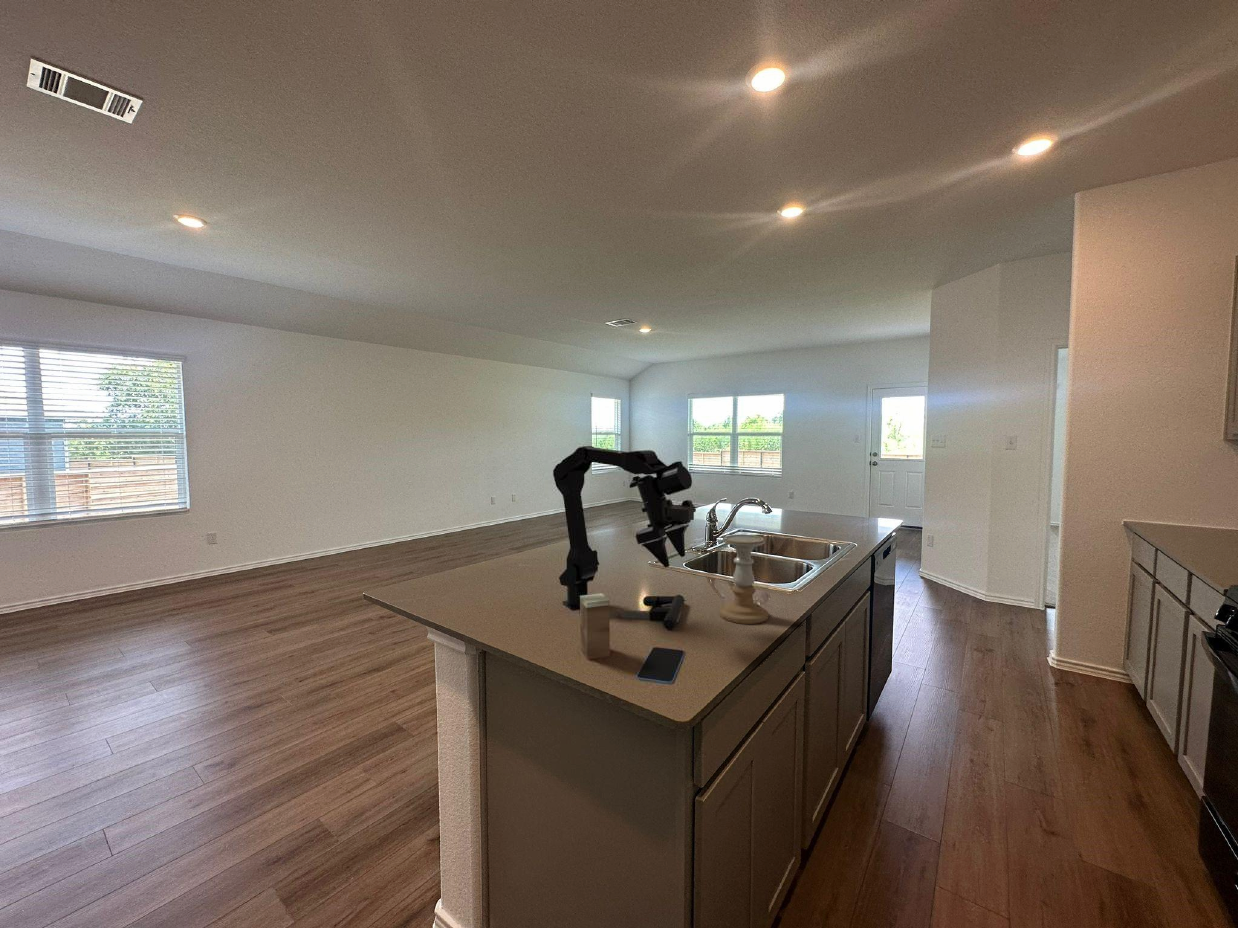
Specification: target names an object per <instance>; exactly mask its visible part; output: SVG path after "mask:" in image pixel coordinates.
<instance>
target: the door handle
mask: <svg viewBox="0 0 1238 928" xmlns="http://www.w3.org/2000/svg"><path fill="white" fill-rule="evenodd" d="M686 601H688V600H685V597H684V596H682V595H681V594H676V595H674V596H673V595H666V596H665V595H646V596H644V597H643V599H642V603H643V604H644V605H645V606H651V607H650V610H620V612H619V617H620V618H622V619H624V618H625V619H634V620H635V619H636V620H649V621H650V622H661V623H662V624H663V627H664V629H666V630H669V631H670V630H671V631H672V630H673V629H674V628H675V627H676V624H677V623H679V619H680V617H681V615H682V611H683V610H682V609H683V606H684V605H685V602H686Z"/></svg>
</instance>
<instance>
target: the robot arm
mask: <svg viewBox="0 0 1238 928" xmlns="http://www.w3.org/2000/svg"><path fill="white" fill-rule="evenodd" d="M592 463H595V464H596V463H597V464H602V465H609V466H614V467H619V468H621V469H622V470H623V471H625V472H627V473H629V474H633V475H636V476H633V477H632V480H631V482H630V484H629V486H628V487H629V488H630V489H633V488H635V487H637V489H638V492H639V495H640V498H641V500H642V503H643V508H641V511H642V512H641V513H643V514H644V513H646V515H647V519H648V521H649V524H646V526H647V527H646V528H645V527H644V528H643V529H641V530H638V531H637V532H636V535H635V536H634V537H635V540H636V542H637V545H640V544H641V547H644V548H645V549H647V551H648V552H649V553H651V554H652V555H653V556H654V557H655V559H656V560H658V562H659V563H660V564H662V566H663V567H664V568H669V567H670V560H669V557H668V552H667V548H666V542H667V540H669V541H670V543H671V544H672V546H673V547H674V549H675V551H676V552H677V554H678V556H680V557H681V558H683V557H685V556H686V546H685V545H686V544H685V532H686V531H687V529H688V527H689V526H690V524H689V523H691V521H694V519H695V512H697V508H695V507H696V506H695V505H694V503H693V501H692V500H690V499H689V500H688V499H685V500H683V501H682V503H681V504H673V502H672V501H673V500H671V498H669V499H667V496H671V495H673V494H676V493H680V492H684V491H686V490H689V489H691V488H692V484H693V479H692V475H691V473H690V472H689V470H688V468H687V467H686V466H684V464H683V462H682V461H681V460H679V461H674V462H673V463H671V464H669V465H667V464H666V463H664V462H663V461H662V460H661V459H660V458H658V455H657V454H656V452H655V451H654V450H652V449H651V450H650V449H649V450H648V449H644V450H630V451H627V450H626V451H623V450H616V449H609V448H601V447H596V446H595V447H594V446H593V445H583V446H582V445H581V446H579V447H578V448H576V449H575V450H574V452H572V453H570V454H569V455H568V456H566V457H564V459H562V461H560V462H559V463H557V464H556V465H555V466H554V468H553V470H552V475H553V476H552V477H553V480H554V483H555V486H556V488H557V490H558V491H559V492H560V494H561V495H562V499H563V505H564V512H565V513H564V514H565V519H566V526H567V527H566V528H567V532H568V535H567V536H568V540H569V541H568V542H569V550H568V553H567V557H566V568H565V570H564V571H563V572H562V573H561V574H560V575H559V577H558V579H559V584H560V586H565V587H566V600H563V601H562V605H564V606H566V607H567V608H569V609H570V610H577V609H580V596H583V595H589V593H588V590H589V589H588V588H589V587H588V582H593V581H594V580H595V576H596V574H597V572H598V571H599V565H600V562H599V557H598V551H597V549H595V550H593V549H592V548H591V547H590V545H589V542H588V534H587V527H586V520H585V513H584V507H583V501H582V500H583V498H582V492H583V491H582V490H583V488H584V486H585V475H586V473H587V472H588V471H589V470H590V469H591V467H592ZM639 475H645V476H642V477H641V476H639ZM653 475H655V476H653ZM666 495H667V496H666Z"/></svg>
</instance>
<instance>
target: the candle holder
mask: <svg viewBox="0 0 1238 928" xmlns="http://www.w3.org/2000/svg"><path fill="white" fill-rule="evenodd" d="M722 540H723V541H722V542H723V543H725V544H726V545H730V546H732V547H733V549H734V550H735V551H736V557H735V558H734V559H733V562H734V563H735V569H734V573H733V576H732V581H733V583H734V586H732V588H731V590H732V592H733V594H734V598H733V600H732V601H728V602H726V604H724V605H722V606H720V607H719V611H718V613H719V616H720V617H721V618H722V619H723V620H726V621H729V622H732V623H736V624H742V625H754V624H760V623H764V622H765V621H767V620H768V618H769V612H768V610H767V609H766V608H764V607H763V606H761V605H760V604H759V603H757V602H754V597H753V595H754V594H755V593H756V588H755V587H754V586H753V585H754V583H755V582H756V580H755V579H756V578H755V576H754V572H753V568H752V564H754V562H755V561H754V559H753V558H752V556H751V554H752V551H754V550H755V547H760V546H763V545H764V544H765V543H766V540H765V538H763V537H761V536H758V535H752V534H729V535H726V536H724V537H723V538H722ZM763 621H764V622H763Z"/></svg>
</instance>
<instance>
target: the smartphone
mask: <svg viewBox="0 0 1238 928" xmlns="http://www.w3.org/2000/svg"><path fill="white" fill-rule="evenodd" d="M685 654H686V652H685V651H684V650H682V649H675V648H666V647H658V646H657V647H652V648H651V650H650V651H649V653H648V655H647V656H646V658H645V660H644V661H643V663H642V665H641V667H640V669H639V670H638V672H637V673H636V675H635V677H636V678H635V679H636V680H639V681H641V682H642V681H643V682H651V683H657V684H665V685H670V684H673V683H674V682H675V679H676V677H677V675H678V671H679V670H680V667H681V664H682V662H683V659H684V657H685Z"/></svg>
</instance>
